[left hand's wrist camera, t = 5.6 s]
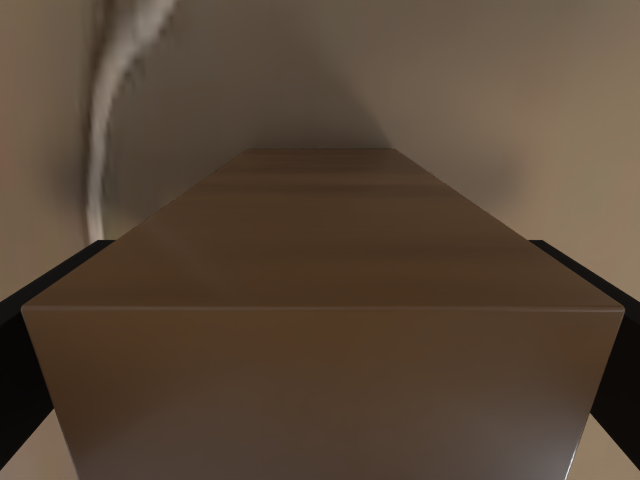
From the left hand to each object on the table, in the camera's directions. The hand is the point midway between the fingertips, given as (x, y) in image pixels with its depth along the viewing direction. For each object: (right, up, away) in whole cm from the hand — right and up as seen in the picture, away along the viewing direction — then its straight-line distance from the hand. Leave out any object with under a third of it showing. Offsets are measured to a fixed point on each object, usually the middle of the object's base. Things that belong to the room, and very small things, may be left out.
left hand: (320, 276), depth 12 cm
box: (0, -4, +7) cm, 8 cm away
